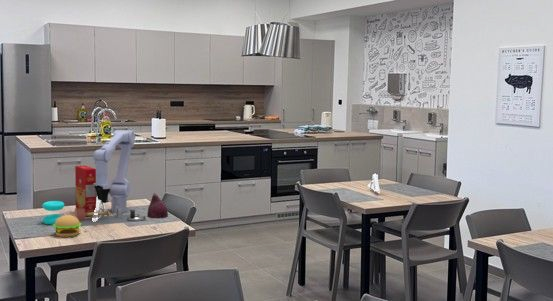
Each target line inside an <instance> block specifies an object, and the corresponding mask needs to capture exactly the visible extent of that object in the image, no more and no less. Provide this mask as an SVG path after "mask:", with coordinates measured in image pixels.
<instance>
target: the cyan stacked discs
mask: <svg viewBox="0 0 553 301" xmlns="http://www.w3.org/2000/svg"><path fill="white" fill-rule="evenodd" d="M41 207H42V208H43V209H44V210H45V211H50V212H56V211H60V210H63V209H64V207H65V203H64V202H63V201H59V200H49V201H46V202H44V203H43V204H42V205H41ZM61 216H63V215H62V214H56V213H55V214H47V215H46V216H44V217H43V218H42V222H43V224H45V225H50V224H52V226H53V224H55V222H56V220H57V219H58V218H59V217H61Z"/></svg>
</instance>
